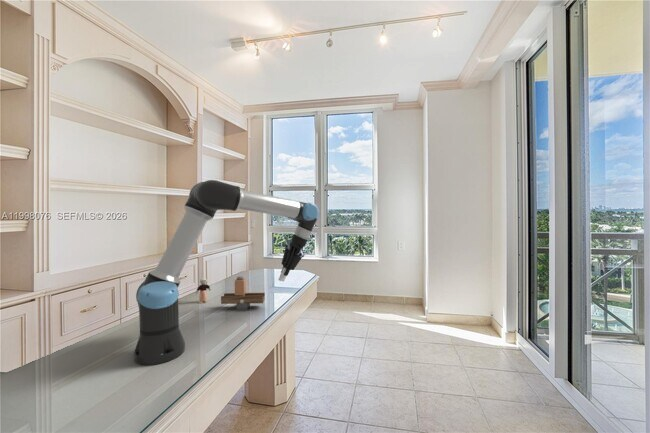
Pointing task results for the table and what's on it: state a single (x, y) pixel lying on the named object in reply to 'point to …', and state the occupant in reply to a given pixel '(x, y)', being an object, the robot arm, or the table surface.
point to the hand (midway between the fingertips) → (281, 280)
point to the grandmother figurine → (203, 290)
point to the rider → (240, 286)
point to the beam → (242, 299)
